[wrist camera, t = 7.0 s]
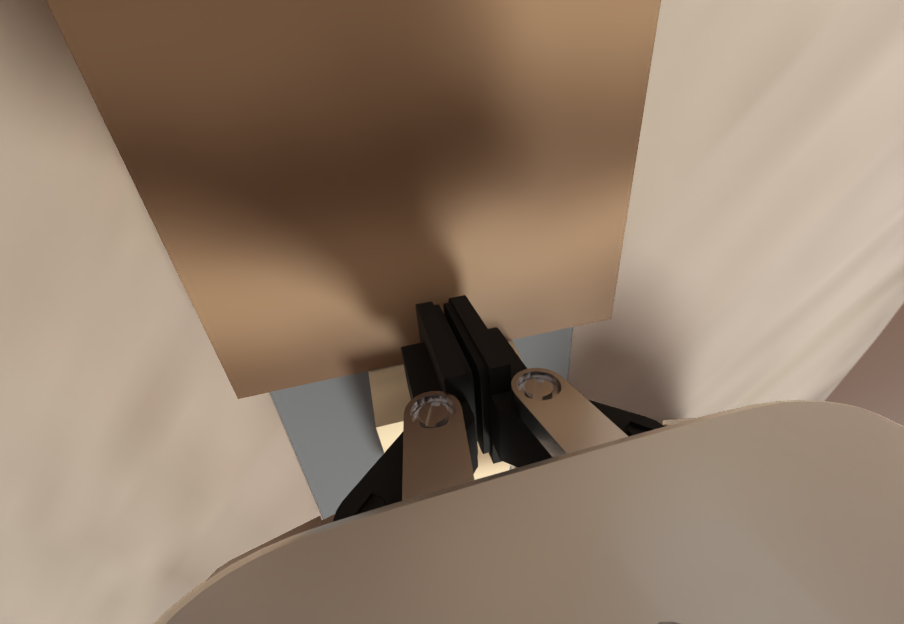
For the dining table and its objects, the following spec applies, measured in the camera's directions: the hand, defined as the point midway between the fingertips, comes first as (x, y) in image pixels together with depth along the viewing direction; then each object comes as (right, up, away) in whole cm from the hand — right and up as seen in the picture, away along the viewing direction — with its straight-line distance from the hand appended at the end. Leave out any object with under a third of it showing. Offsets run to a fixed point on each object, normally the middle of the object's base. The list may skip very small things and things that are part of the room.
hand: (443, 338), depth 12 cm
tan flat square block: (-1, +7, 0) cm, 7 cm away
